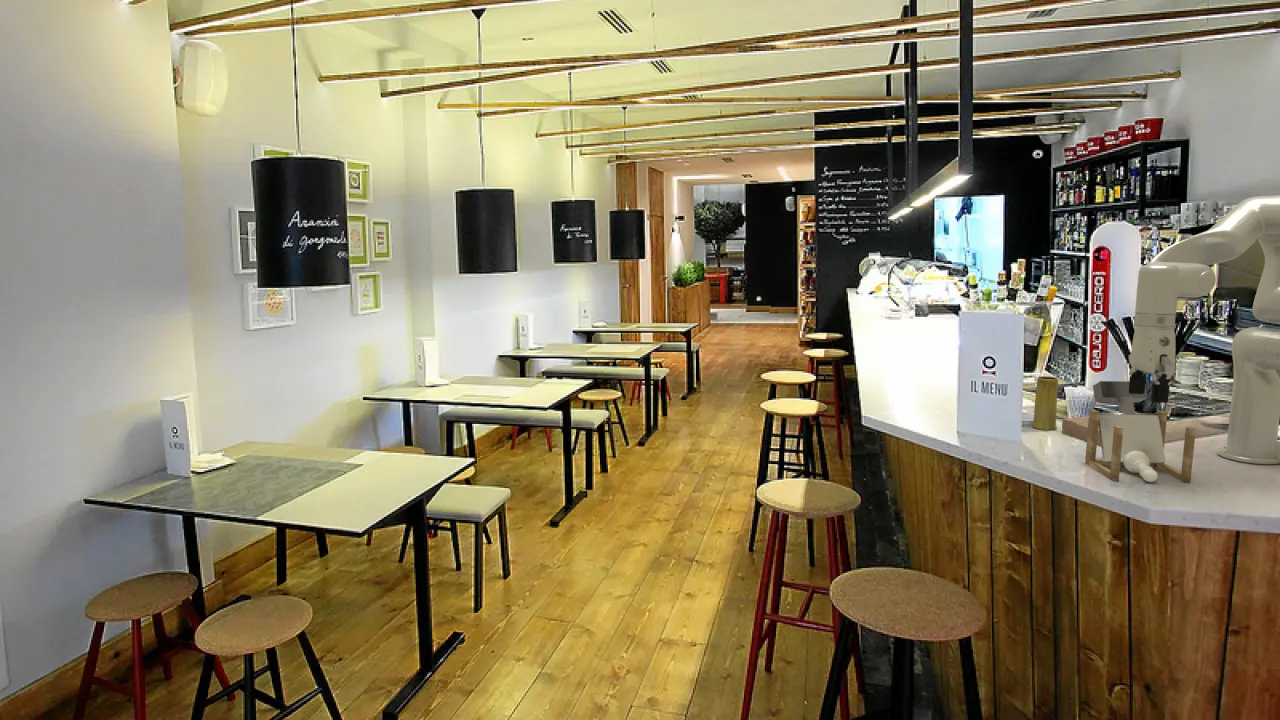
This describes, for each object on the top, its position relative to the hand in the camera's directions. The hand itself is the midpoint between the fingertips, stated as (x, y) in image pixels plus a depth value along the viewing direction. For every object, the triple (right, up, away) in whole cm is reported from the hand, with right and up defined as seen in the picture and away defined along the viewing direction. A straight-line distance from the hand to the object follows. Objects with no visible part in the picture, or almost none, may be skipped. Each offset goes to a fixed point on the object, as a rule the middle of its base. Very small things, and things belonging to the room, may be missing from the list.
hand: (1147, 397), depth 177 cm
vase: (+1, -11, +47) cm, 49 cm away
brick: (+8, -13, +35) cm, 38 cm away
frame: (0, -17, +5) cm, 18 cm away
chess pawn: (0, -14, +5) cm, 15 cm away
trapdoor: (+1, -7, +12) cm, 14 cm away
